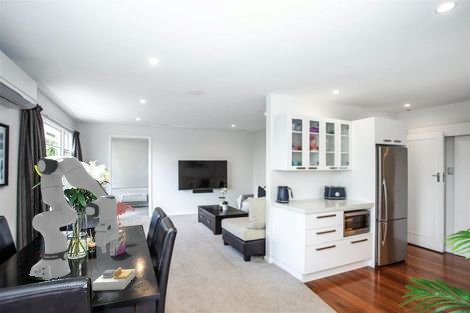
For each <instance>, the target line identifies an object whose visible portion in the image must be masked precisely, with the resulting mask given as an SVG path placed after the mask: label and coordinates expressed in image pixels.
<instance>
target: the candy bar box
mask: <svg viewBox="0 0 470 313" xmlns="http://www.w3.org/2000/svg"><path fill="white" fill-rule="evenodd" d="M126 233H127V232H126V229H120V230H119V236H118V237H117V238H115V243H114V247H110V246H109V256H110V257H117V256H120V255H122V254H123V253H125V252H126V251H127V250H126V248H127V247H126V244H127V243H126V242H127V241H126V240H127V239H126V236H127V234H126ZM110 244H111V241H110V242H109V245H110Z"/></svg>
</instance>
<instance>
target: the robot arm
mask: <svg viewBox="0 0 470 313" xmlns="http://www.w3.org/2000/svg"><path fill="white" fill-rule="evenodd" d="M36 164H37V165H36V168H37V171H38V172H39V174H41V175H40V192H41V197H42V202H43V203H44V204H46V205H48V206H49V207H50V208H51V210H48V211H43V212H41V213H38V214H36V215H35V216H33V219H32V220H31V223H32V228H33V229H34V230H35V231H37V232H39V233H40V234H41V235H42V236H43V239H44V249H45V250H44V253H42V254H41V255H40V257H42V258H41V259H40V260H38V262H37V263H36V264H34V265H32V267H31V270H30V272H29V275H30V276H35V277H42V278H43V279H44V278H46V279H45V280H48V281H50V280H49V279H52V278H55V279H59V278H62V277H65V276H67V275H68V274H70V273H71V269H70V265H69V260H68V259H69V249H68V236H67V235H66V234H64V233H61V230H60V228H62V227H65V226H66V227H67V226H68V225H71V224H74V223H75V222H77V218H78V212H77V210H76V209H75V208H73V207H71V206H70V204H69V202H67V200H66V196H65V192H64V186H63V185H64V184H63V177H64V178H65V179H66V181H67V182H68V184H69V185H70V186H71V187H73V188H76V189H83V190H87V191H89V192H90V193H91V192H92V193H93V195H95V197H96V198H97V199H95V200H92V201H90V202H88V203H87V204H86V205H85V207H84V214H85V216H86V217H87V218H89V219H98V218H99V220H98V221H99V222H98V223H97V224H96V226H95V227H94V232H95V234H94V240H95V246H96V247H99V248H100V249H101V253H102V254H106V253H107V248H106V245H107V244H109V248H110V247H114V243H115V238H117V237H118V236H119V229H120V226H118V216H117V215H116V212H117V203H118V202H117V198H116V196H114V195H112V194H109V193H108V192H107V191H106V189H105V188H104V186H102V185H101V183H100V182H99V181H98V180H97V179H96V178H94V177H93V176H92V175H91V174H90V173H89V172H88V171H87V169H86V168H85V167H84V165H83V163H81V161H80V160H79V159H78V158H77V157H75V156H62V155H61V156H59V155H58V156H44V157H41V158H40V159H39V160H38V161H37V163H36ZM110 241H111V244H110ZM58 277H59V278H58ZM52 280H53V279H52ZM48 281H47V282H48Z"/></svg>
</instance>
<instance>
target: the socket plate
mask: <svg viewBox="0 0 470 313" xmlns="http://www.w3.org/2000/svg"><path fill="white" fill-rule="evenodd" d="M116 270H117V269H115V271H116ZM127 270H133V272H132V273H131V274H130V275H129V276H128V277H127V278H120V279H113V277H114V276H115V273H114V276H113V277H112V278H103V273H102V274H101V276H98V277H97V279H95V280H93V282H92V291H112V290H113V291H115V290H125V289H126V288H127V286H128V285H129V284H130V283H131V280H132V281H133V280H134V278H135V277H136V269H135V268H134V269H133V268H131V269H130V268H129V269H127Z"/></svg>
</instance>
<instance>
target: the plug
mask: <svg viewBox="0 0 470 313" xmlns="http://www.w3.org/2000/svg"><path fill="white" fill-rule="evenodd" d="M115 270H116V269H106V270H104V271H103V272H102V274H103V278H112V277H113V276H114V273H115Z"/></svg>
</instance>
